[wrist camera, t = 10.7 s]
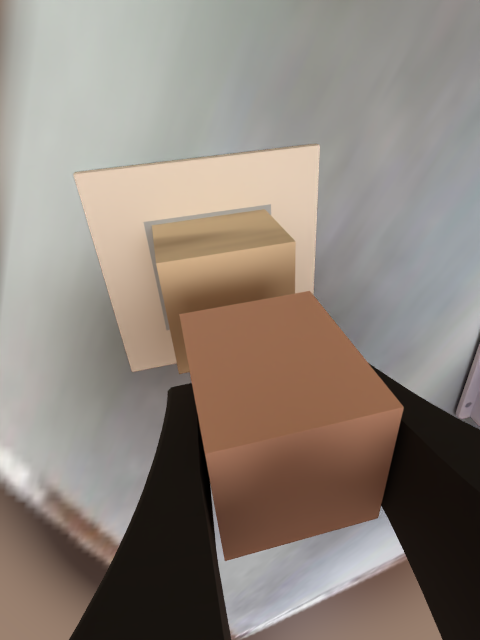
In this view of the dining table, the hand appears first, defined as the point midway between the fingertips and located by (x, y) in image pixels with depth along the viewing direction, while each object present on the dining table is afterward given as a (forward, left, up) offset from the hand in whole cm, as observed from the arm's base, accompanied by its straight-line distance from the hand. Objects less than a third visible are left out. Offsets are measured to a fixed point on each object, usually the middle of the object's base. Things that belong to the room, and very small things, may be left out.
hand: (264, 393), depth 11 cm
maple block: (0, 0, -8) cm, 9 cm away
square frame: (0, 0, -9) cm, 9 cm away
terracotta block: (0, 0, -2) cm, 2 cm away
